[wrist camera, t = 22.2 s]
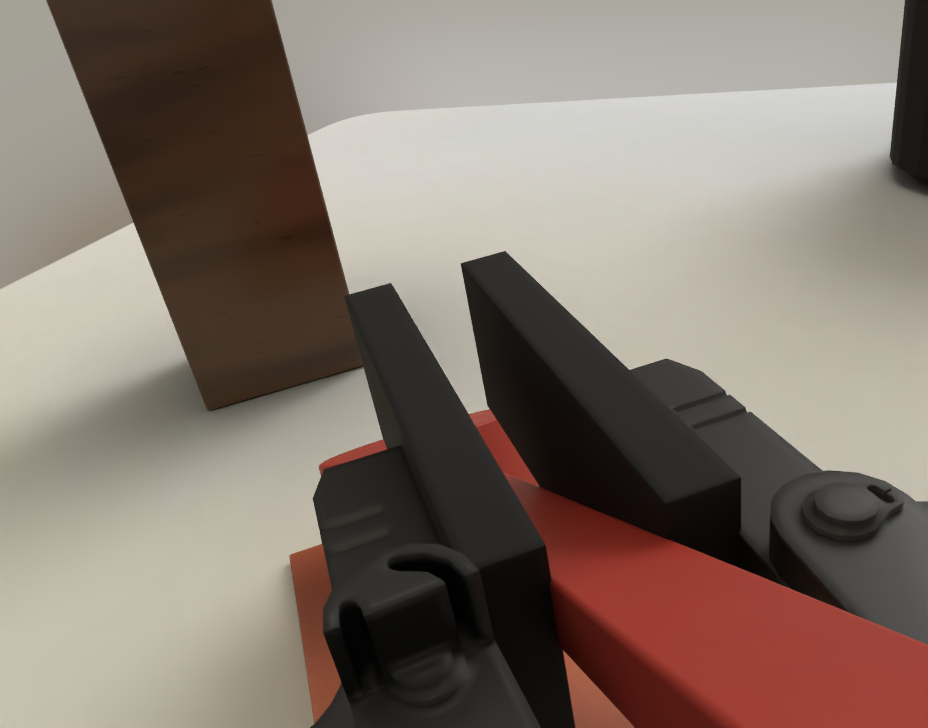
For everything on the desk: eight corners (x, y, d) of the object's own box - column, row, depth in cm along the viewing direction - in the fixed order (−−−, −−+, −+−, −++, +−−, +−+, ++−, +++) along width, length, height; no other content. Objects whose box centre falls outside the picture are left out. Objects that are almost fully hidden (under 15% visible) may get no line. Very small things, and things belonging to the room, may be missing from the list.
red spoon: (339, 523, 24) (319, 458, 24) (516, 466, 24) (498, 403, 24) (392, 1795, 2) (165, 1039, 2) (1855, 929, 3) (1694, 407, 3)
